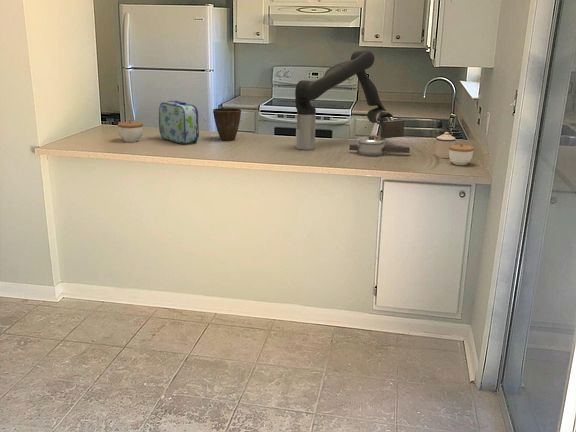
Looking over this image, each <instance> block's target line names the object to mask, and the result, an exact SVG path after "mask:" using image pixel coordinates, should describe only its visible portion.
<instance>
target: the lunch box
mask: <svg viewBox="0 0 576 432" xmlns="http://www.w3.org/2000/svg"><path fill="white" fill-rule="evenodd" d="M158 129H159V134H160V136H161V138H162V139H164V140H166V141H171V142H174V143H178V144H182V145H183V144H196V143H197V142H198V140H199V138H200V130H199V129H200V127H199V111H198V107H197V106H195V105H194V104H191V103H187V102H182V101H179V100H167V101H162V102H161V103H159V109H158Z"/></svg>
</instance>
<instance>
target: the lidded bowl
mask: <svg viewBox="0 0 576 432" xmlns="http://www.w3.org/2000/svg"><path fill="white" fill-rule="evenodd" d="M117 129H118V134H119V136H120V138H121V139H122V140H123V141H124V142H125V141H126V142H125V143H136V141H137V142H139V140H141V139H142V136H143V131H144V123H143V122H142V121H141V122H139V121H132V119H128V121H123V122H122V121H121V122H119V123H117Z"/></svg>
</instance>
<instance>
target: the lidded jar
mask: <svg viewBox="0 0 576 432" xmlns="http://www.w3.org/2000/svg"><path fill="white" fill-rule="evenodd" d="M473 154H474V147H473V146H471V145H465V144H463V142H462V143H460V144H455V145H451V146H449V158H448V159H449V160H450V162H452V164H453V165H455V166H467V164H469V163H470V161H471V160H472V158H473Z"/></svg>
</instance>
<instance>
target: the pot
mask: <svg viewBox="0 0 576 432" xmlns="http://www.w3.org/2000/svg"><path fill="white" fill-rule="evenodd" d="M356 142H357V143H350V144H349V149H348V150H349V151H356V154H357V155H359V156H362V155H363V157H382V156H384V155H385V153H400V154H401V153H402V154H410V152H411V151H410V149H411V148H410V146H398V145H386V142H385V143H381V144H366V143H360V142H358V141H356Z"/></svg>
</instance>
